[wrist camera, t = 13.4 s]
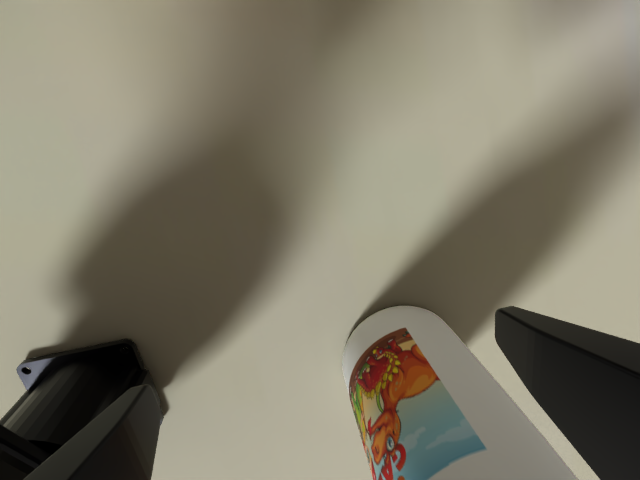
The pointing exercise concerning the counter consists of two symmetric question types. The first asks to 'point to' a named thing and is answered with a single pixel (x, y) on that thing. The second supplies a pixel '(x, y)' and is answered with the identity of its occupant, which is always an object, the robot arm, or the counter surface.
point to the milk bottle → (437, 406)
